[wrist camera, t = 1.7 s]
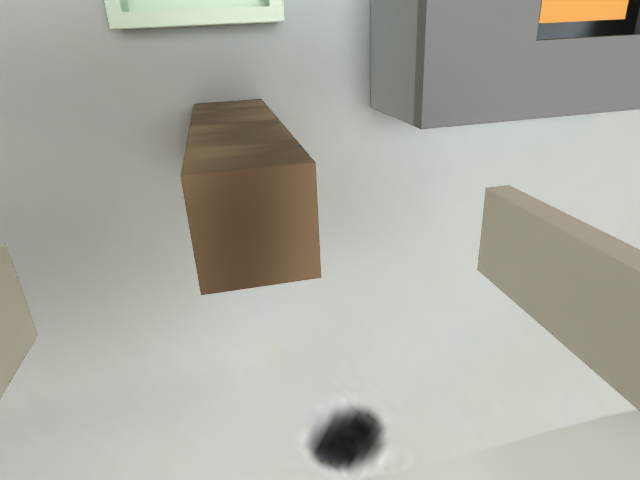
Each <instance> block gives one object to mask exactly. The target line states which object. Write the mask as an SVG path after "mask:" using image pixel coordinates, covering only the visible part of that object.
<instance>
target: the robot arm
mask: <svg viewBox="0 0 640 480" xmlns="http://www.w3.org/2000/svg"><path fill="white" fill-rule="evenodd" d="M477 270H478V271H479V272H481V273H482V274H483V275H484V276H485V277H486V278H487V279H489V280H490V281H491V282H492V283H493V284H494V285H496V286H497V287H498V288H499V289H500V290H501V291H502V292H504V293H505V294H506V295H507V296H508V297H509V298H510V299H512V300H513V301H514V302H515V303H516V304H517V305H518V306H520V307H521V308H522V309H523V310H524V311H525V312H527V313H528V314H529V315H530V316H531V317H532V318H533V319H535V320H536V321H537V322H538V323H539V324H540V325H541V326H543V327H544V328H545V329H546V330H547V331H548V332H549V333H551V334H552V335H553V336H554V337H555V338H556V339H558V340H559V341H560V342H561V343H562V344H563V345H564V346H566V347H567V348H568V349H569V350H570V351H571V352H572V353H574V354H575V355H576V356H577V357H578V358H579V359H580V360H582V361H583V362H584V363H585V364H586V365H587V366H589V367H590V368H591V369H592V370H593V371H594V372H595V373H597V374H598V375H599V376H600V377H601V378H602V379H603V380H605V381H606V382H607V383H608V384H609V385H610V386H611V387H613V388H614V389H615V390H616V391H617V392H618V393H620V394H621V395H622V396H623V397H624V398H625V399H626V400H628V401H629V402H630V403H631V404H632V405H633V406H634V407H636V408H637V409H638V410H639V411H640V250H639V249H637V248H635V247H633V246H631V245H629V244H627V243H625V242H623V241H621V240H619V239H617V238H615V237H613V236H611V235H609V234H607V233H605V232H603V231H601V230H599V229H597V228H595V227H593V226H591V225H589V224H587V223H584V222H582V221H580V220H578V219H576V218H574V217H572V216H570V215H568V214H566V213H564V212H562V211H560V210H558V209H556V208H554V207H552V206H550V205H548V204H546V203H544V202H542V201H540V200H538V199H536V198H534V197H532V196H530V195H528V194H526V193H524V192H522V191H520V190H518V189H516V188H514V187H512V186H510V185H506V186H498V187H489V188H486V191H485V200H484V210H483V220H482V229H481V239H480V249H479V258H478V268H477ZM37 335H38V334H37V332H36V329H35V326H34V323H33V320H32V317H31V314H30V312H29V309H28V306H27V303H26V300H25V297H24V294H23V292H22V289H21V286H20V283H19V280H18V277H17V275H16V272H15V269H14V266H13V263H12V260H11V257H10V255H9V252H8V249H7V246H6V244H0V399H1V397H2V395H3V394H4V392H5V390H6V388H7V387H8V385H9V383H10V382H11V380H12V378H13V376H14V375H15V373H16V371H17V370H18V368H19V366H20V365H21V363H22V361H23V359H24V358H25V356H26V354H27V353H28V351H29V349H30V347H31V346H32V344H33V342H34V341H35V339H36V337H37Z"/></svg>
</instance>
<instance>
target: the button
mask: <svg viewBox="0 0 640 480" xmlns="http://www.w3.org/2000/svg"><path fill="white" fill-rule="evenodd" d="M628 1H629V0H541V7H540V15H539V22H538V23H557V22H577V21H597V20H617V19H625V16H626V11H627V6H628Z"/></svg>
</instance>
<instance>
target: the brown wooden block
mask: <svg viewBox="0 0 640 480" xmlns="http://www.w3.org/2000/svg"><path fill="white" fill-rule="evenodd" d="M181 181H182V187H183V193H184V199H185V204H186V210H187V216H188V222H189V228H190V233H191V239H192V245H193V251H194V257H195V262H196V268H197V274H198V280H199V286H200V292H201V295H205V294H212V293H219V292H226V291H233V290H240V289H246V288H253V287H260V286H267V285H274V284H281V283H287V282H294V281H301V280H308V279H315V278H321V265H320V245H319V224H318V204H317V184H316V164H315V161H314V160H313V159H312V158H311V157H310V156H309V154H308V153H307V152H306V151H305V150H304V149H303V147H302V146H301V145H300V144H299V143H298V142H297V140H296V139H295V138H294V137H293V136H292V135H291V133H290V132H289V131H288V130H287V129H286V128H285V126H284V125H283V124H282V123H281V122H280V121H279V119H278V118H277V117H276V116H275V115H274V114H273V112H272V111H271V110H270V109H269V108H268V107H267V105H266V104H265V103H264V102H263V101H262V100H261V99H254V100H241V101H227V102H214V103H200V104H194V107H193V113H192V118H191V123H190V129H189V134H188V139H187V145H186V150H185V155H184V161H183V166H182V171H181Z"/></svg>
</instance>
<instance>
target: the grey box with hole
mask: <svg viewBox="0 0 640 480" xmlns="http://www.w3.org/2000/svg"><path fill="white" fill-rule="evenodd" d="M540 7H541V0H370V107H372V108H374V109H376V110H378V111H381V112H383V113H385V114H388V115H390V116H392V117H395V118H397V119H399V120H401V121H404V122H406V123H408V124H411V125H413V126H415V127H418V128H420V129H428V128H439V127H450V126H461V125H472V124H483V123H494V122H504V121H515V120H526V119H537V118H548V117H559V116H570V115H581V114H592V113H603V112H614V111H625V110H636V109H640V0H629V1H628V6H627V11H626V16H625V19H617V20H597V21H577V22H557V23H538V22H539V15H540Z"/></svg>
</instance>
